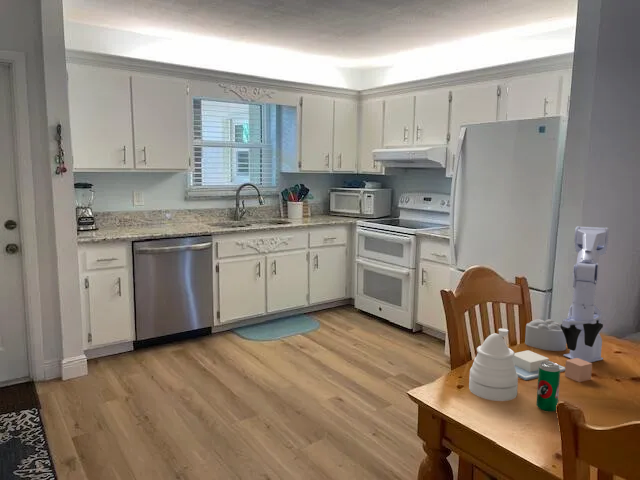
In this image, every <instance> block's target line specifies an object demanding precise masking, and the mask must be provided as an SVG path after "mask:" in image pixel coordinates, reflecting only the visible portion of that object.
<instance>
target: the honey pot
mask: <svg viewBox="0 0 640 480" xmlns="http://www.w3.org/2000/svg"><path fill="white" fill-rule="evenodd" d="M508 334H509V329H508V328H498V333H492V334H489V335H488V336H487V337H486V338H485V340H484V341H483V343H482V344H481V345H479V346H478V347H476V351H477V354H476V356H475V357H474V359H473V363H472V366H471V367H470V369H469V379H468V388H469V391H470V392H471V393H472V394H473V395H475V396H477V397H479V398H481V399H485V400H489V401H495V402H496V401H498V402H507V401H512V400H514V399H515V398H516V397H517V396H518V385H519V384H518V382H519V377H518V375H517V373H516V369H515V367H514V366H515V364H514V362H513V360H512V357H514V354H515V353H516V352H515V351H514V350H512V349H511V348H510V347H508V345H507V343H506V340H505V339H504V338H505V337H507V335H508Z"/></svg>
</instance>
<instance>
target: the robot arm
mask: <svg viewBox="0 0 640 480" xmlns="http://www.w3.org/2000/svg"><path fill="white" fill-rule="evenodd" d="M609 235H610V229H609V228H608V227H597V226H595V227H594V226H580V225H577V226H576V227H575V230H574V238H573V239H574V240H573V241H574V242H573V243H574V249H575V252H577V256H576V257H577V258H576V262H575V263H574V265H573V269H572V287H573V290H572V291H573V294H572V303H571V305H570V306H569V309H568V313H567V318H566V319H562V322H561V324H560V325H561V329H562V331H563V333H564V336H565V339H566V349H568V350H569V353H564V354H563V357H565V358H568V359H569V360H570V359H574V358H579V359H582V360H584V361H587V362H589V363H594V362H597V361H602V360H604V357H602V346H603V338H602V336H601V334H600V333H601V332H602V331H601V330H602V329H603V328H604V324H603V323H602V318H603V315H602V314H603V311H602V309H601V308H599V307H598V305H596V291H597V284H598V282H599V277H600V276H599V274H600V266H599V259H600V257H601V256H603V255H605V254H606V253H607V251H608V245H609Z"/></svg>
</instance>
